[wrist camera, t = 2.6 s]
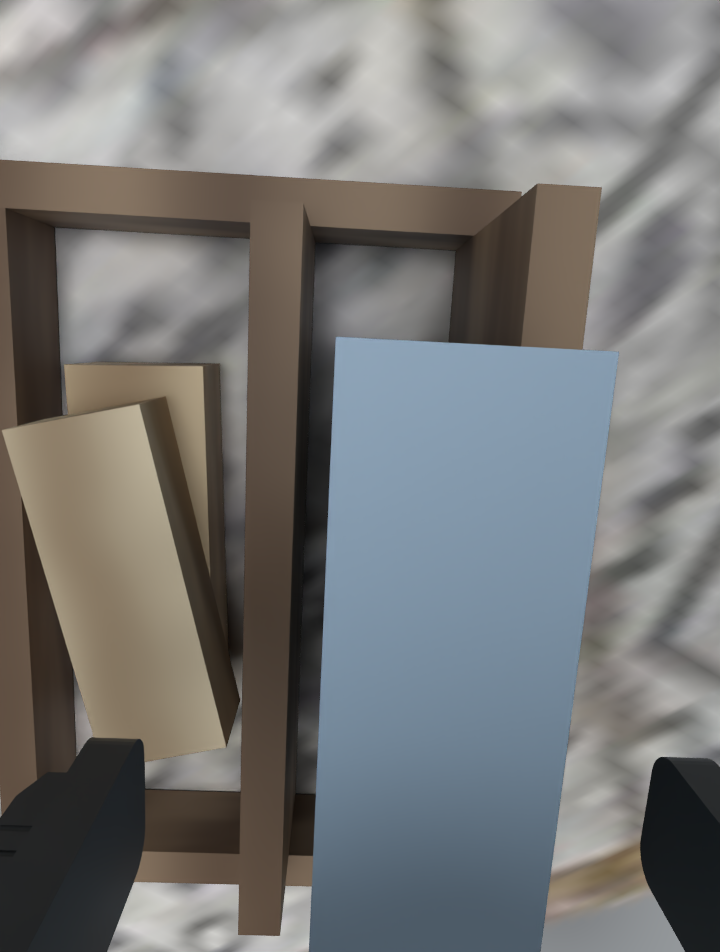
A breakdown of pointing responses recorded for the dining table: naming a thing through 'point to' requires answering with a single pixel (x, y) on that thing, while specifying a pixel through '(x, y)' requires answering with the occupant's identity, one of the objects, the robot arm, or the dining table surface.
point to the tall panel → (451, 637)
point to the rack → (267, 451)
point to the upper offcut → (128, 575)
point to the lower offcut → (195, 431)
